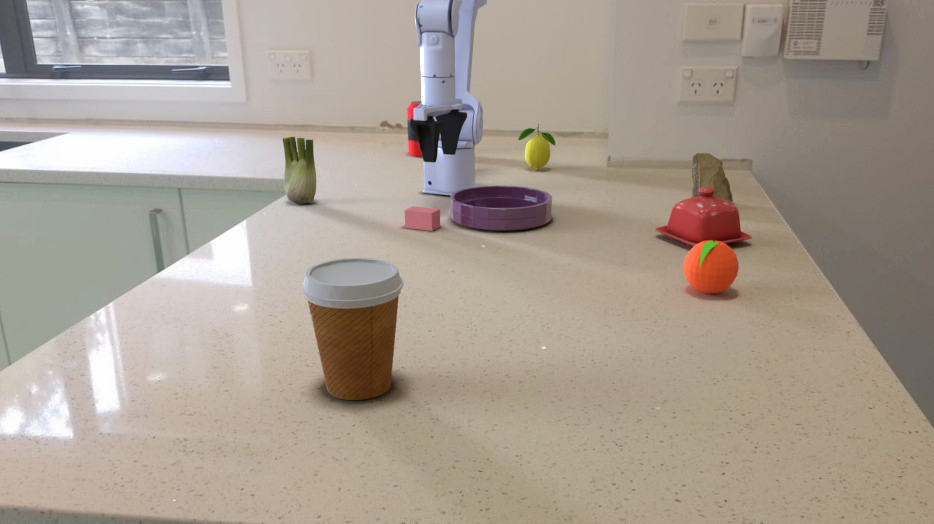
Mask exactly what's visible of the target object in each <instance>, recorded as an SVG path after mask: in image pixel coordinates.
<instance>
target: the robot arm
mask: <svg viewBox="0 0 934 524" xmlns="http://www.w3.org/2000/svg"><path fill="white" fill-rule="evenodd" d="M487 3H488V0H421V1H420V2H418V1H417V3H416V4H415V10H414V23H415V30H416V35H417V46H418V48H419V51H420V54H419V55H420V84H421V85H420V86H421V87H420V89H421V101H422V103H421V104H420V105H419V106H418V107H416V108H414V118H412V119H409V124H410V126H411V128H412V129H413V131H414V133H415V135H416V137H417V140H418V143H419V146H420V150H421V154H422V157H421V158H422V161H423V186H424V187H423V188H424V189H422V193H424V194H433V195H444V196H451V195H452V193H454V192H457V191H459V190H463V189H467V188H472V187H480V185H476V145H480V143H481V142H482V139H483V134H484V118H483V117H484V109H483V106H482V103H481V101H480V100H479V99H477V97H475V96H474V95H473V94H472V93H471V79H472V68H473V65H472V64H473V54H474V41H475V40H474V39H475V29H476V28H475V27H476V21H477V17H478V16H477V15H478V12H479V9H481V8H482V7H484V6H485V5H487Z"/></svg>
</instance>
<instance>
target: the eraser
mask: <svg viewBox="0 0 934 524" xmlns="http://www.w3.org/2000/svg"><path fill="white" fill-rule="evenodd" d="M404 228H405V229H411V230H412V229H413V230H419V231H427V232H433V231H435V230H437V229H440V228H441V208H433V207H425V206H417V205H416V206H415V205H412V206H411V207H408V208H406V209H404Z"/></svg>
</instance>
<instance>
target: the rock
mask: <svg viewBox="0 0 934 524" xmlns="http://www.w3.org/2000/svg"><path fill="white" fill-rule="evenodd" d="M690 172H691V191H690V198H692V197H698V196H700V193H699V192H698V190H699V189H700V188H702V187H711V188H713V189H715V192H714V194H713V197H717V198H720V199H723V200H726V201H728V202H730V203H731V204H733V202H734V198H733V194H732V191H731V185H730V182H729V179H728V178H727V176H726V174H725V169H724V168H723V160H721V159H719V158H717V157H716V156H714V155H712V154H711V153H709V152H702V153H700V152H697V153H695V154H694V155H692V159H691V169H690Z"/></svg>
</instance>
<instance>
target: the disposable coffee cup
mask: <svg viewBox="0 0 934 524" xmlns="http://www.w3.org/2000/svg"><path fill="white" fill-rule="evenodd" d="M403 287H404V279H403V277H401V276H400V272H399V268H398V267H397V266H396V265H395V264H394V263H393V262H390V261H387V260H383V259H379V258H373V257H344V258H336V259H330V260H325V261H321V262H319V263H316V264H314V265H312V266H310V267H308V268H307V269H306V271H305V273H304V280H303V282H302V283H301V285H300V290H301V292H302V294H303V295H304V297H305V300H307V303H308V308H309V314H310V317H311V318H310V319H311V322H312V328H313V332H314V335H315V340H316V345H317V350H318V355H319V358H320V363H321V368H322V373H323V377H324V381H325V386H326V390H327V392H328V394H329V395H331V396H332V397H334V398H337V399H341V400H347V401H361V400H362V401H364V400H369V399H373V398H377V397H379V396H381V395H383V394H385V393H386V392H388V391H389V390H390V388H391V386H392V376H393V375H392V374H393V366H394V364H393V363H394V356H395V355H394V354H395V353H394V352H395V342H396V333H397V332H396V331H397V320H398V317H397V316H398V308H399V296H400V294H401V293H402V289H403Z"/></svg>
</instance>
